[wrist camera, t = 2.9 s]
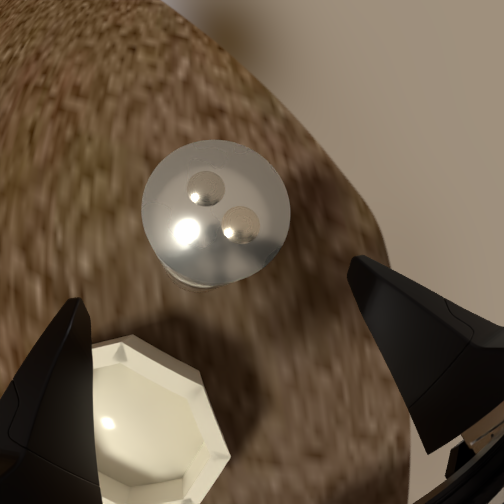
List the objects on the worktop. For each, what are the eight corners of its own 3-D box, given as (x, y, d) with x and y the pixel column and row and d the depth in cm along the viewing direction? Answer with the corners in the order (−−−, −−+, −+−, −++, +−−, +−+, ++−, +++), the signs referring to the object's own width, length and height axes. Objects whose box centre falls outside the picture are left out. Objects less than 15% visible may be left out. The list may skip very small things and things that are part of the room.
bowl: (237, 467, 16) (248, 494, 13) (94, 493, 13) (84, 520, 10) (183, 320, 17) (183, 325, 14) (30, 357, 14) (5, 366, 11)
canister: (242, 281, 18) (311, 258, 9) (173, 301, 17) (161, 301, 8) (223, 214, 19) (267, 127, 9) (155, 231, 18) (129, 153, 8)
